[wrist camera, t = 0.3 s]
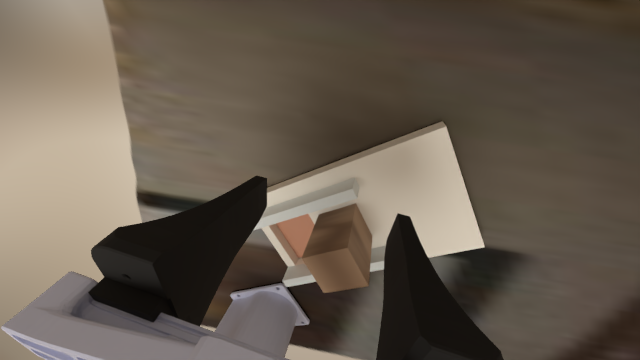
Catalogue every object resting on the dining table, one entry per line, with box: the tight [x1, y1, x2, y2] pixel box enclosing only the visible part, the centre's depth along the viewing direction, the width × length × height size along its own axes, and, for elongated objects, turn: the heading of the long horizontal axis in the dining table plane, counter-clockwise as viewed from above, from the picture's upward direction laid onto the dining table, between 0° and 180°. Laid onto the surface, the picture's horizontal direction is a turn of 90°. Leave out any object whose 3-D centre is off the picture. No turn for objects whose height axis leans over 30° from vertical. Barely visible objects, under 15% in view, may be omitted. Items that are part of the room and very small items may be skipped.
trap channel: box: [254, 121, 485, 287], centre depth 25 cm, size 20×12×4 cm, turn 118°
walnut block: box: [302, 203, 372, 293], centre depth 23 cm, size 4×4×6 cm
